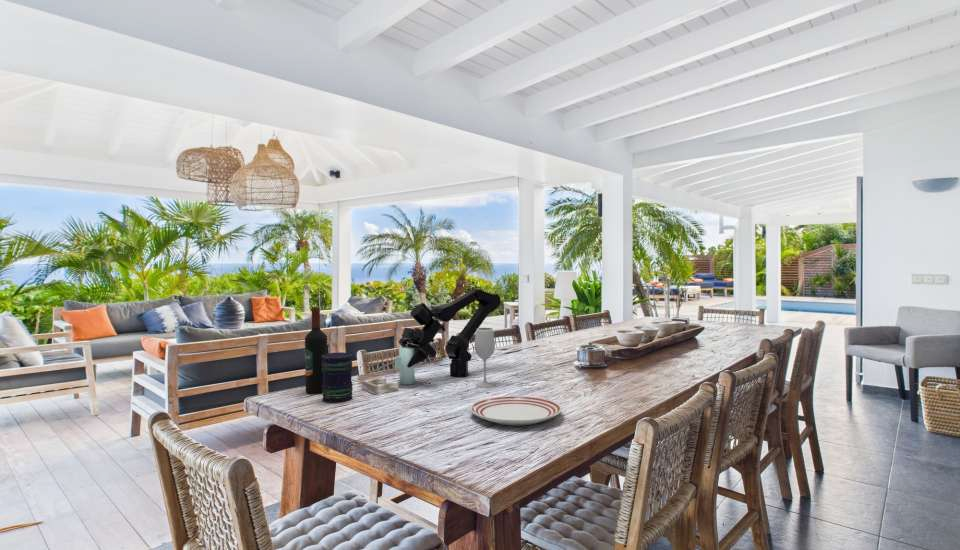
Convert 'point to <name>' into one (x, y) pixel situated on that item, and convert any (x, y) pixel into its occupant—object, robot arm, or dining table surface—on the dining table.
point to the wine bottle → (314, 354)
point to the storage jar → (337, 377)
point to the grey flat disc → (409, 385)
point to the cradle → (379, 386)
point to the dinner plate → (515, 410)
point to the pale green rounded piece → (405, 365)
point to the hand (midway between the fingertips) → (403, 365)
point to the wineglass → (484, 350)
